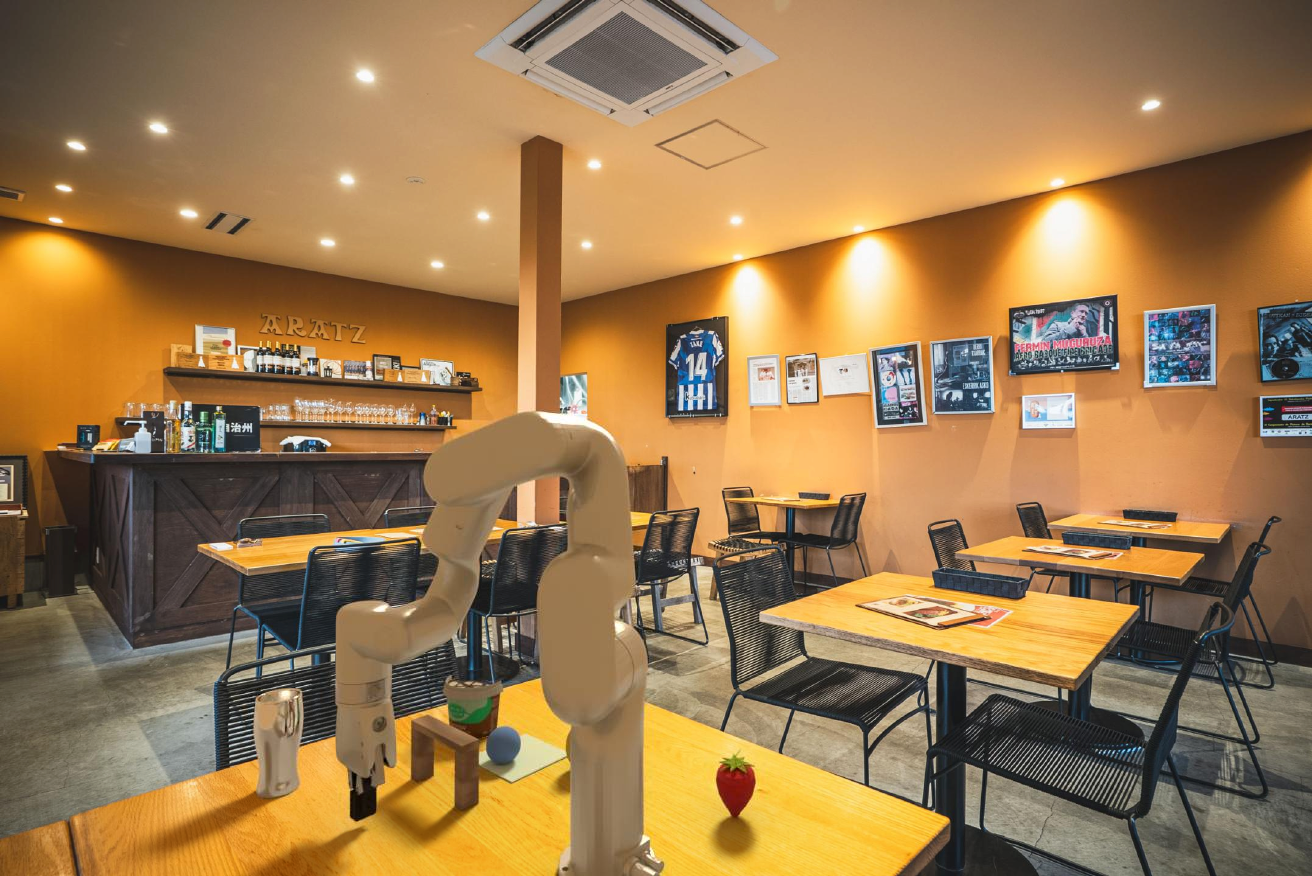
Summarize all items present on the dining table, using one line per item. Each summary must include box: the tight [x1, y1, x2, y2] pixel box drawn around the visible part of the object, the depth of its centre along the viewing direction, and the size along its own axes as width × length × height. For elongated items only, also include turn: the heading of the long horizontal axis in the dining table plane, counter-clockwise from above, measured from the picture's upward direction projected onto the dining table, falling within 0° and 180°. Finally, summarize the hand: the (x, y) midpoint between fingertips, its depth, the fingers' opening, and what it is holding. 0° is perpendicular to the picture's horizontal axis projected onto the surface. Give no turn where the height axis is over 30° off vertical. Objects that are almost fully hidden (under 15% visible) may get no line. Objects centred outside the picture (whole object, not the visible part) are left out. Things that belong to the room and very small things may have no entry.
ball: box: [485, 725, 521, 764], centre depth 113 cm, size 6×6×6 cm
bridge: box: [410, 714, 480, 812], centre depth 104 cm, size 3×15×10 cm, turn 49°
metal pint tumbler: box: [253, 687, 304, 799], centre depth 104 cm, size 7×7×15 cm
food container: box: [442, 674, 504, 740], centre depth 124 cm, size 12×6×10 cm, turn 73°
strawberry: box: [715, 748, 757, 818], centre depth 96 cm, size 6×8×10 cm
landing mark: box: [479, 733, 567, 784], centre depth 115 cm, size 13×13×1 cm
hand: (363, 815), depth 94 cm, fingers closed
